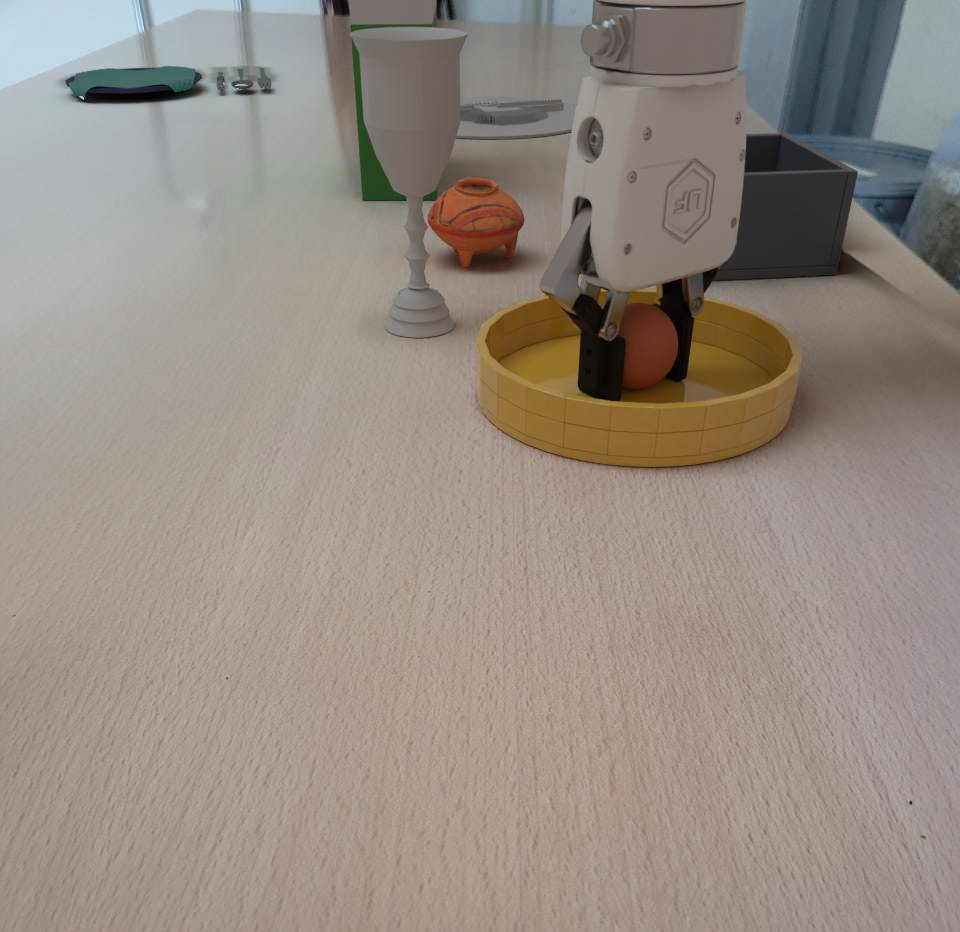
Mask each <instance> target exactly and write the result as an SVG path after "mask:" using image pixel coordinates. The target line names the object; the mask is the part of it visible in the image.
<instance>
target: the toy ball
mask: <svg viewBox="0 0 960 932" xmlns="http://www.w3.org/2000/svg"><path fill="white" fill-rule="evenodd" d="M617 336H619V337H622V338H624V339H625V342H626V349H625V360H624V371H623V382H622V387H623V388H626V389H642V388H647V387H649V386H652V385H654V384H656V383H657V382H659V381H660V380H661V379H663V378H664V377H665V376H666V375H667V373H668V372H669V371H670V369H671V368H672V366H673V364H674V362H675V360H676V357H677V352H678V336H677V332H676V329H675V326H674V324H673V323H672V321H671V319H670V318H669V317H668V316H667V315H666V314H665V313H664V312H663V311H662V310H660V309H659V308H657V307H655V306H653V305H650V304H646V303H630V304H626V308H625V312H624V315H623V319H622V322H621V326H620V330H619V333H618V335H617Z"/></svg>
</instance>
